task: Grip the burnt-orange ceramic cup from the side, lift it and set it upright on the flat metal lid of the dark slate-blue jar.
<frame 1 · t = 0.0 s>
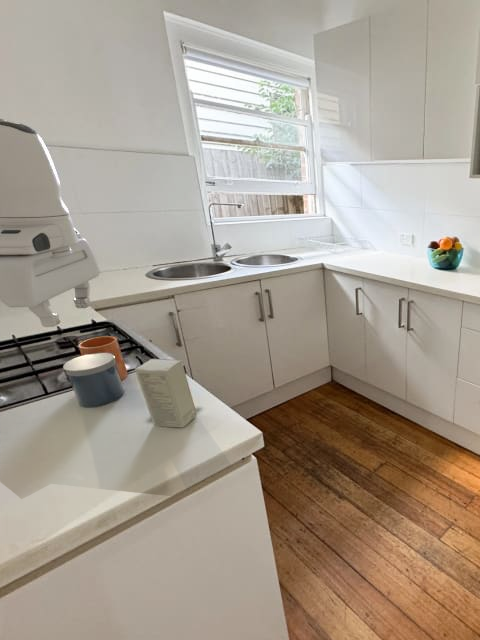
hand: (69, 315, 66), 20 cm above the worktop, tool pointing down, fingers open, 8 cm apart
cosmetic box: (175, 421, 73), on the worktop
jar: (102, 397, 79), on the worktop
cup: (110, 378, 86), on the worktop
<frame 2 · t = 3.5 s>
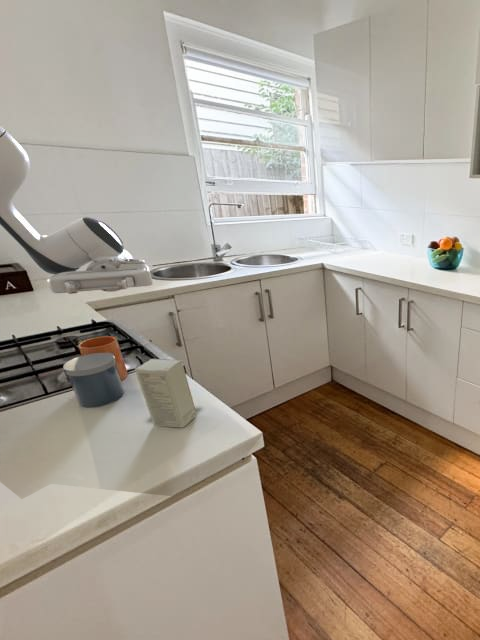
hand: (97, 288, 88), 18 cm above the worktop, tool horizontal, fingers open, 8 cm apart
nothing on the worktop moved.
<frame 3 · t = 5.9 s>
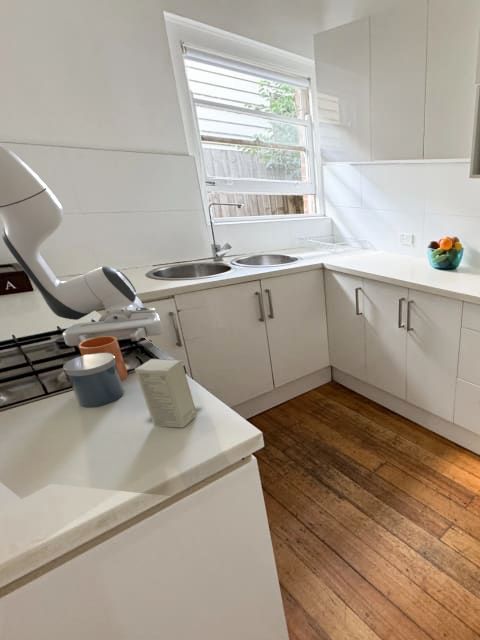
hand: (110, 341, 92), 5 cm above the worktop, tool horizontal, fingers open, 8 cm apart
nothing on the worktop moved.
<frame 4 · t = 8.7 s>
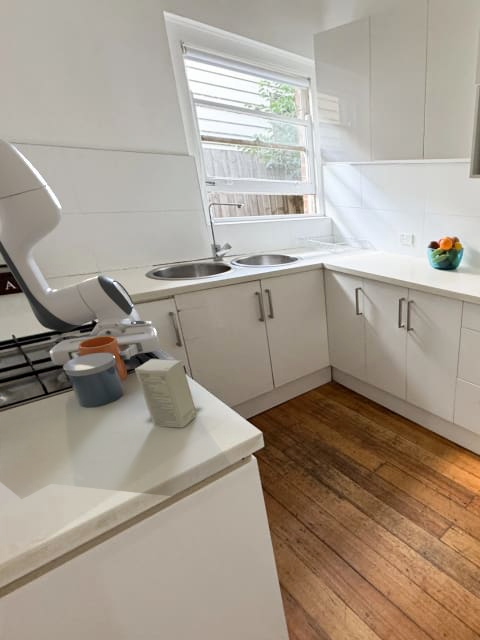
hand: (102, 360, 84), 5 cm above the worktop, tool horizontal, fingers closed on cup, 7 cm apart
cup: (109, 378, 86), on the worktop, touching gripper
everything else where it was.
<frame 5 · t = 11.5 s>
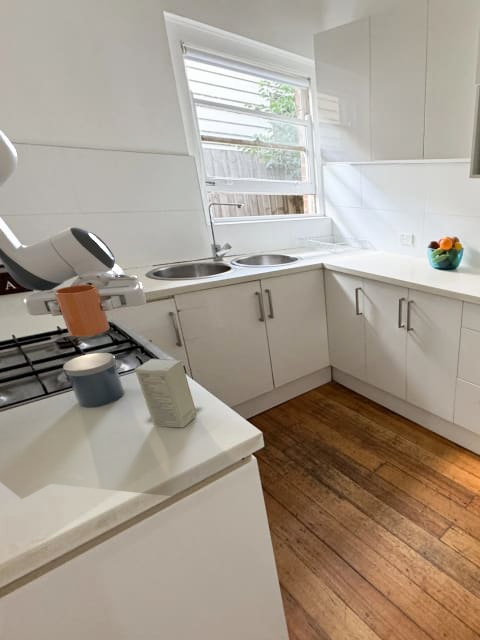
hand: (81, 309, 77), 17 cm above the worktop, tool horizontal, fingers closed on cup, 7 cm apart
cup: (90, 330, 80), point 12 cm above the worktop, touching gripper
everything else where it was.
when the fingers open (13 cm above the worktop, at t = 14.6 s): cup stays where it is, resting on jar.
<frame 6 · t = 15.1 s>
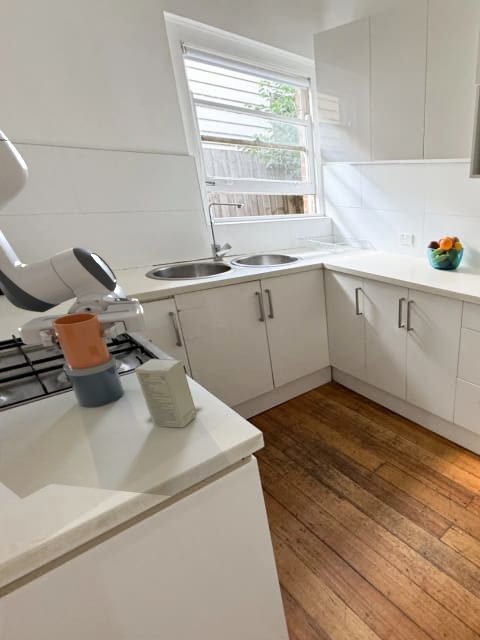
hand: (79, 338, 73), 14 cm above the worktop, tool horizontal, fingers open, 8 cm apart
cup: (89, 361, 76), point 8 cm above the worktop, touching jar
everything else where it was.
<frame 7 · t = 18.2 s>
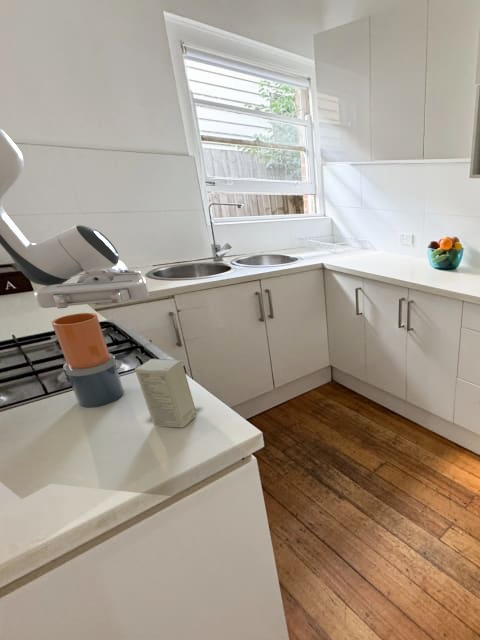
hand: (88, 302, 82), 17 cm above the worktop, tool horizontal, fingers open, 8 cm apart
nothing on the worktop moved.
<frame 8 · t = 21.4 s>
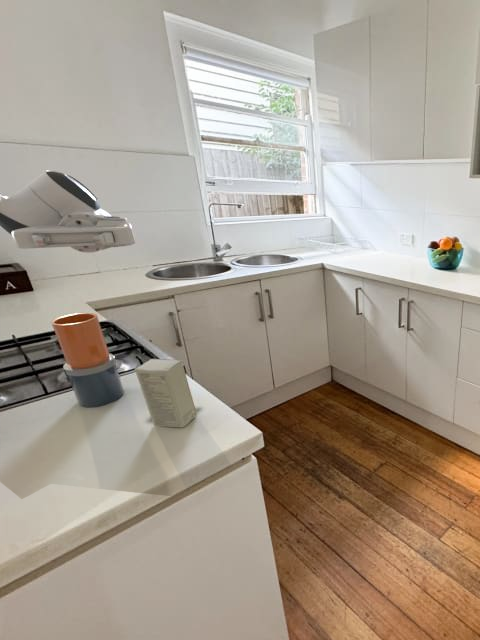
hand: (69, 241, 77), 30 cm above the worktop, tool horizontal, fingers open, 8 cm apart
nothing on the worktop moved.
at the end: cup 0.1 cm off-centre on the jar, point 8.4 cm above the jar's base; cup tilted 0°; the gripper is holding nothing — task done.
